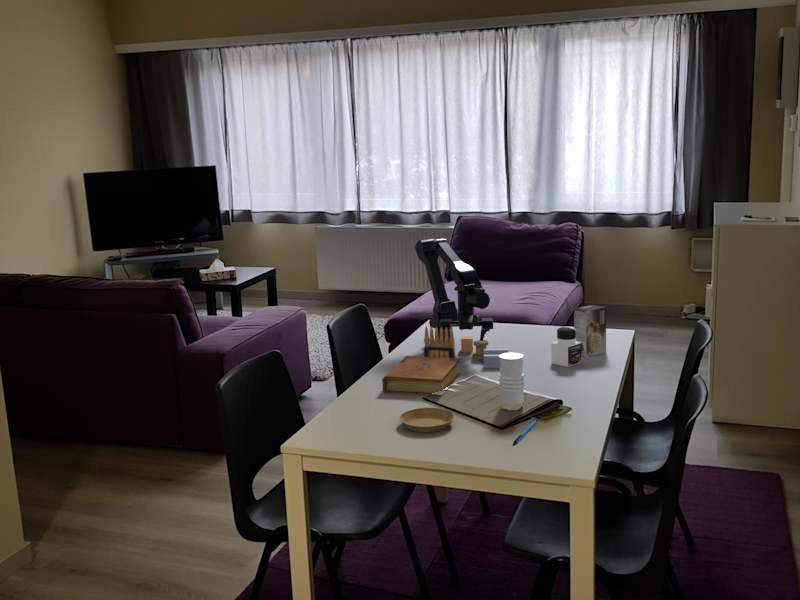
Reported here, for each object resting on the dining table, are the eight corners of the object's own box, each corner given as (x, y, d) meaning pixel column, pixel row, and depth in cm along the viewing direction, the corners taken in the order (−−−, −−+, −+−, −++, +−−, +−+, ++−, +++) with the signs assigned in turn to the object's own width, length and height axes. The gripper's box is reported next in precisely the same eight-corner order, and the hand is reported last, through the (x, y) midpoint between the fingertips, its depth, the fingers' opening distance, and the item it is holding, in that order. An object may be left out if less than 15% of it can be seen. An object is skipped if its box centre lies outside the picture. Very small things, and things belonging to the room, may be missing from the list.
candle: (521, 412, 236) (521, 359, 233) (497, 410, 238) (496, 358, 235) (526, 404, 242) (526, 353, 239) (502, 402, 244) (502, 352, 241)
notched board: (484, 360, 288) (483, 349, 287) (508, 360, 287) (507, 348, 287) (484, 367, 279) (483, 356, 279) (508, 367, 279) (508, 355, 278)
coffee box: (593, 349, 297) (593, 304, 293) (606, 352, 291) (607, 307, 288) (573, 353, 292) (573, 307, 289) (586, 357, 287) (586, 310, 283)
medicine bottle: (568, 367, 276) (568, 331, 274) (551, 363, 281) (550, 328, 279) (581, 362, 281) (582, 327, 278) (564, 359, 286) (564, 324, 283)
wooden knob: (472, 355, 295) (472, 340, 294) (490, 355, 294) (489, 339, 293) (472, 360, 289) (471, 344, 288) (490, 359, 288) (489, 344, 287)
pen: (511, 446, 212) (511, 441, 212) (535, 421, 229) (535, 417, 229) (515, 446, 212) (515, 442, 212) (538, 422, 229) (539, 418, 228)
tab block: (461, 349, 303) (461, 336, 302) (473, 349, 303) (472, 335, 302) (461, 352, 299) (461, 338, 298) (472, 352, 299) (472, 338, 298)
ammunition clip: (455, 361, 289) (454, 326, 286) (454, 362, 287) (453, 328, 285) (425, 359, 292) (424, 325, 290) (424, 361, 291) (422, 326, 288)
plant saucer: (466, 424, 229) (465, 415, 228) (428, 439, 219) (427, 430, 218) (426, 412, 239) (426, 404, 239) (388, 427, 229) (388, 418, 229)
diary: (405, 372, 280) (404, 355, 279) (460, 375, 274) (460, 358, 273) (382, 393, 258) (382, 375, 257) (442, 397, 253) (442, 378, 252)
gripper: (437, 309, 291) (439, 354, 294) (493, 308, 289) (493, 353, 292) (439, 303, 302) (441, 345, 305) (492, 302, 300) (493, 345, 303)
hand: (467, 347), depth 301 cm, fingers open, 9 cm apart
